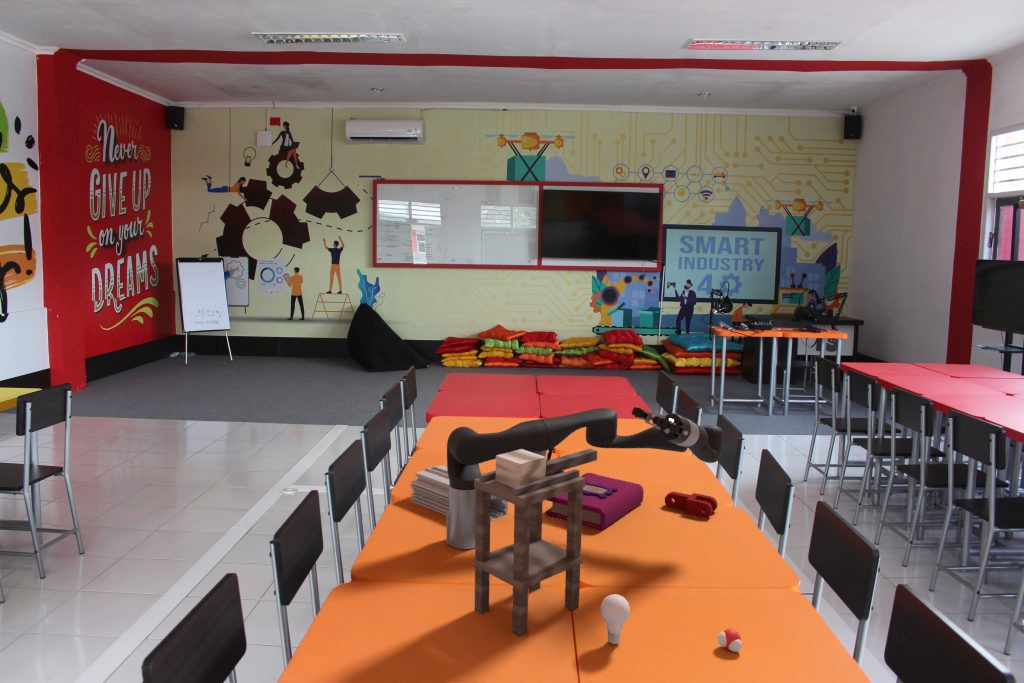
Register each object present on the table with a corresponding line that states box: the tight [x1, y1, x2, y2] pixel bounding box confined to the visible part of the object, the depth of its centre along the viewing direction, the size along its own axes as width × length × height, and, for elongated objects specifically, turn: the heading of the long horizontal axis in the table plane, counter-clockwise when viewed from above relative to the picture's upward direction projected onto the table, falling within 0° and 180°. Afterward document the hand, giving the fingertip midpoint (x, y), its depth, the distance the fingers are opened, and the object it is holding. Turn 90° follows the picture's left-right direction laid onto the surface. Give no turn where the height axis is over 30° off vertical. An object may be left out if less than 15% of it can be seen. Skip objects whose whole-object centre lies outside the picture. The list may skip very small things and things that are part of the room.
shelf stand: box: [472, 468, 585, 638], centre depth 175 cm, size 20×16×34 cm
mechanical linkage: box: [664, 491, 719, 519], centre depth 241 cm, size 16×7×5 cm, turn 59°
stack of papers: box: [409, 464, 509, 522], centre depth 240 cm, size 14×31×10 cm, turn 47°
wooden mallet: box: [495, 448, 598, 488], centre depth 177 cm, size 29×8×6 cm, turn 133°
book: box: [545, 472, 645, 531], centre depth 240 cm, size 21×28×8 cm
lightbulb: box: [600, 593, 631, 645], centre depth 162 cm, size 6×6×11 cm
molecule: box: [716, 628, 743, 653], centre depth 162 cm, size 5×5×4 cm
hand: (645, 415), depth 192 cm, fingers open, 8 cm apart
